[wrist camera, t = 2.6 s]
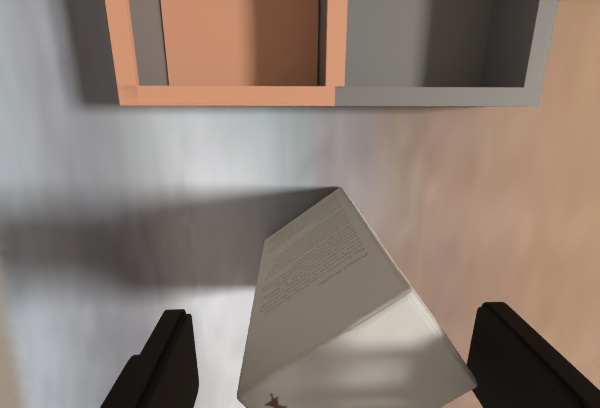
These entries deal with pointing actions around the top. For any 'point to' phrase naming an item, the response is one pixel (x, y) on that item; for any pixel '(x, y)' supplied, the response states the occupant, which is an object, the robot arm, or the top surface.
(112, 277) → the top surface
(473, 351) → the robot arm
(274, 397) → the skincare box
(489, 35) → the box
